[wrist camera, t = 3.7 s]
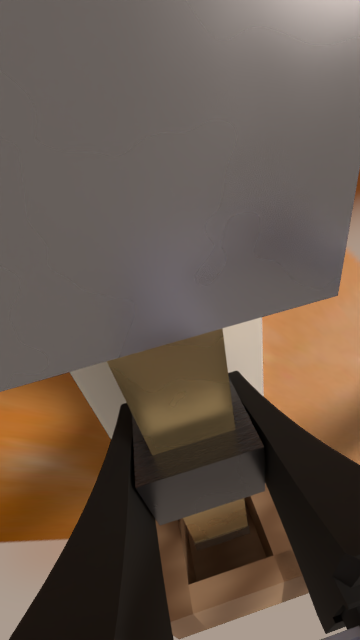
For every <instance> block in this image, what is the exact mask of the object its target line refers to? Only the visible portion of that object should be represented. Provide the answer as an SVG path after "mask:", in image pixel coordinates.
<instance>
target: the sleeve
mask: <svg viewBox="0 0 360 640" xmlns="http://www.w3.org/2000/svg"><path fill="white" fill-rule="evenodd" d="M359 168H360V0H0V392H1V391H4V390H8V389H11V388H15V387H18V386H22V385H26V384H29V383H33V382H36V381H40V380H43V379H47V378H50V377H54V376H57V375H61V374H64V373H68V372H71V371H75V370H78V369H82V368H85V367H89V366H92V365H96V364H99V363H103V362H106V361H110V360H113V359H117V358H120V357H124V356H127V355H131V354H134V353H138V352H141V351H145V350H148V349H152V348H155V347H159V346H162V345H166V344H169V343H173V342H176V341H180V340H183V339H187V338H190V337H194V336H197V335H201V334H204V333H208V332H211V331H215V330H219V329H222V328H226V327H229V326H233V325H236V324H240V323H243V322H247V321H250V320H254V319H257V318H261V317H264V316H268V315H271V314H275V313H278V312H282V311H285V310H289V309H292V308H296V307H299V306H303V305H306V304H310V303H313V302H317V301H320V300H324V299H327V298H331V297H334V296H338V291H339V285H340V280H341V274H342V268H343V262H344V256H345V250H346V244H347V239H348V232H349V227H350V221H351V215H352V209H353V203H354V197H355V192H356V186H357V180H358V174H359Z"/></svg>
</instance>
